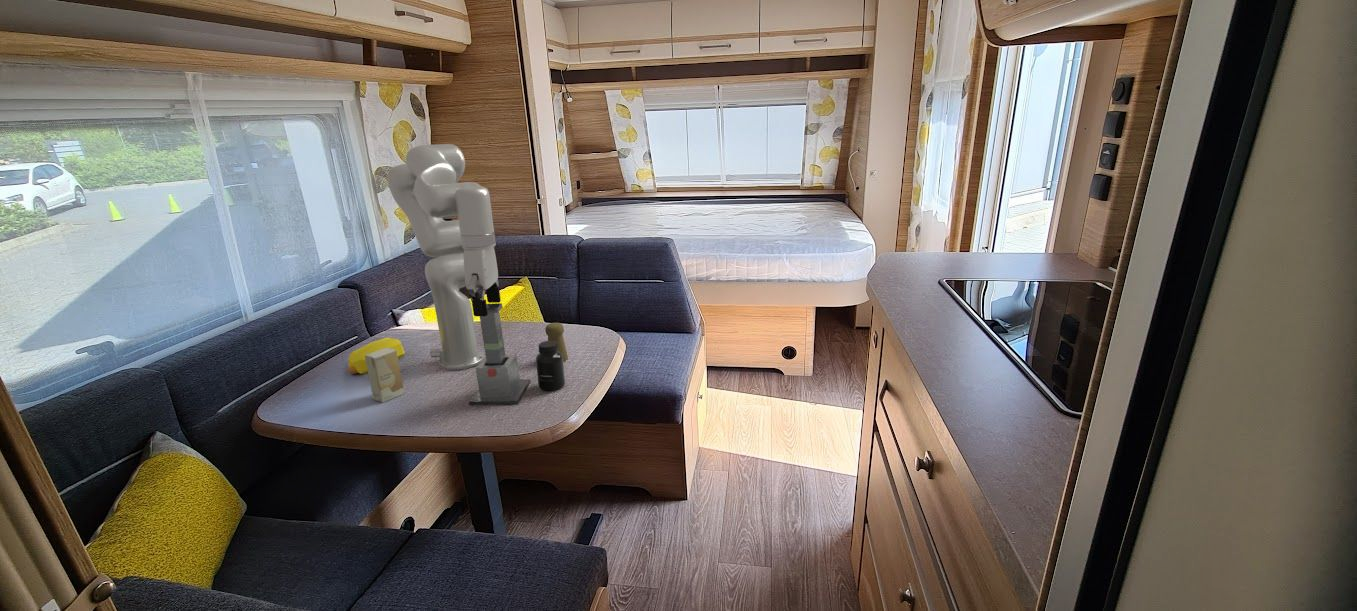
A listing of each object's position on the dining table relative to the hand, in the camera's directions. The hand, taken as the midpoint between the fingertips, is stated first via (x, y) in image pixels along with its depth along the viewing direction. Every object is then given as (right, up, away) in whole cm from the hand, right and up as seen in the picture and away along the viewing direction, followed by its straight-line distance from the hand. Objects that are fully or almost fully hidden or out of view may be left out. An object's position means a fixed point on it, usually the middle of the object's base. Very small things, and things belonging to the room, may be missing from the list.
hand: (487, 308), depth 139 cm
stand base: (+1, -22, +7) cm, 23 cm away
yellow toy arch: (-41, -17, +28) cm, 53 cm away
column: (+1, -15, +4) cm, 16 cm away
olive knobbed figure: (+12, -15, +26) cm, 33 cm away
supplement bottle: (+14, -20, +10) cm, 27 cm away
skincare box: (-28, -23, +8) cm, 37 cm away
